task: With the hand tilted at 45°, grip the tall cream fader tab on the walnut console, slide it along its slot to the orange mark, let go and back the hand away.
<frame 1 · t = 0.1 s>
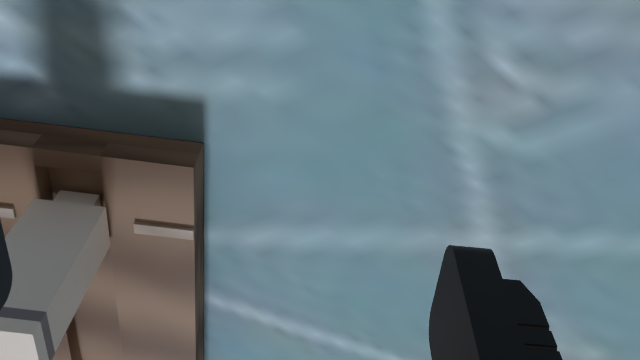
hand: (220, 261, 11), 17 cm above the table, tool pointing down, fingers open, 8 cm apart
fader console: (106, 304, 37), on the table
fader tab: (43, 269, 27), point 6 cm above the table, slide at 0.0 cm
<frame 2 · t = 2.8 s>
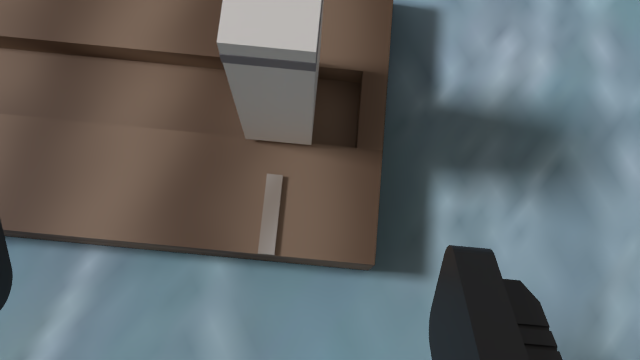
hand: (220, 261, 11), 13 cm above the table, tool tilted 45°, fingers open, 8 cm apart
fader console: (85, 100, 26), on the table
fader tab: (280, 61, 20), point 6 cm above the table, slide at 0.0 cm
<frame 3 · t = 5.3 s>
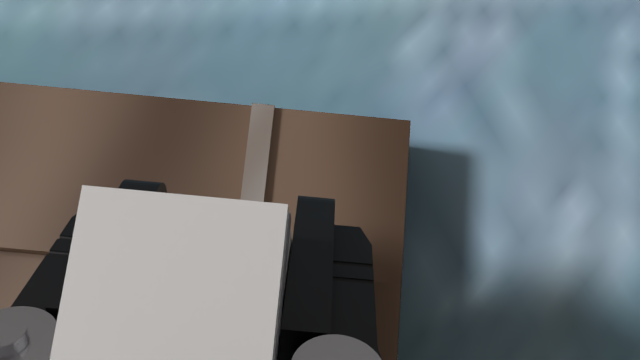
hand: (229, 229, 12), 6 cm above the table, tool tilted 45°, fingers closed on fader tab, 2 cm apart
fader tab: (217, 336, 11), point 6 cm above the table, slide at 0.0 cm, touching gripper
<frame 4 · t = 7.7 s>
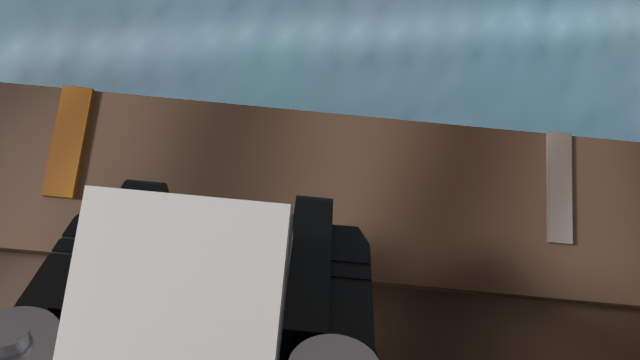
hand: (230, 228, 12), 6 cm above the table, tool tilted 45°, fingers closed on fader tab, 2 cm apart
fader console: (228, 332, 17), on the table
fader tab: (218, 337, 11), point 6 cm above the table, slide at 8.0 cm, touching gripper
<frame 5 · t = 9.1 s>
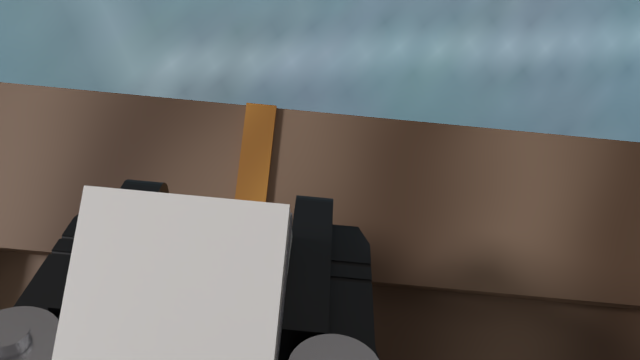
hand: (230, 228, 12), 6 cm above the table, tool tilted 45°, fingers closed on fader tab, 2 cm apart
fader console: (401, 347, 17), on the table
fader tab: (218, 337, 11), point 6 cm above the table, slide at 12.9 cm, touching gripper
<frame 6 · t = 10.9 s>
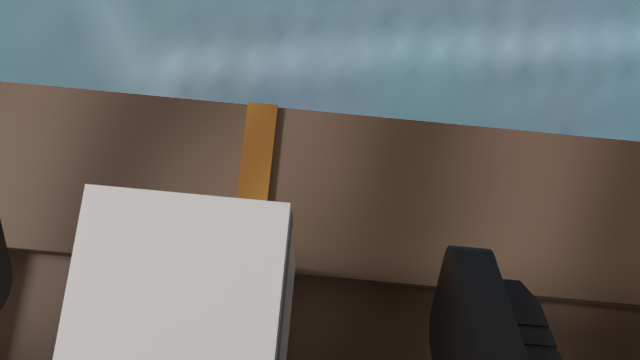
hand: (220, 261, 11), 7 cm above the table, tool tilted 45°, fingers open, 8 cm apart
fader console: (402, 346, 17), on the table
fader tab: (218, 335, 11), point 6 cm above the table, slide at 13.0 cm
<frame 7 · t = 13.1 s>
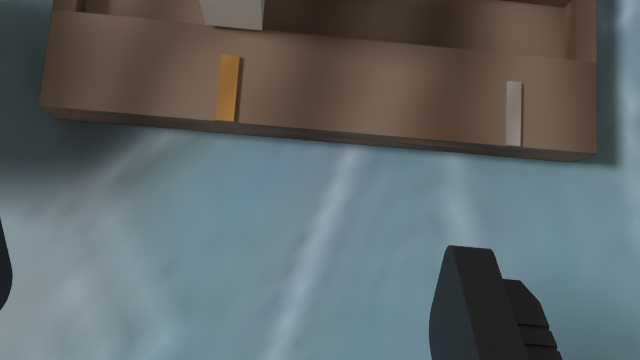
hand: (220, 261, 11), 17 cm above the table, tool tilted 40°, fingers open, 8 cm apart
fader console: (330, 23, 30), on the table
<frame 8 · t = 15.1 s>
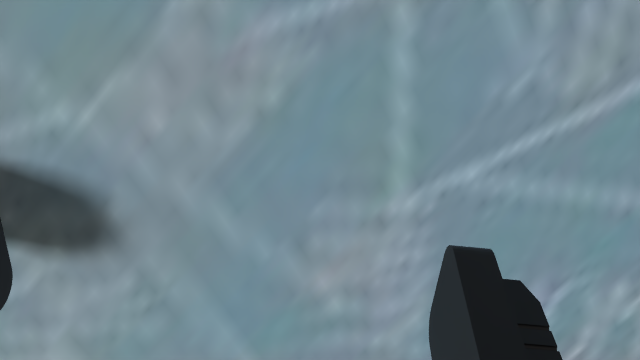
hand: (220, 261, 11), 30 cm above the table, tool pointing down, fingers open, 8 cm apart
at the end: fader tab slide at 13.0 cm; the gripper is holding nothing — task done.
